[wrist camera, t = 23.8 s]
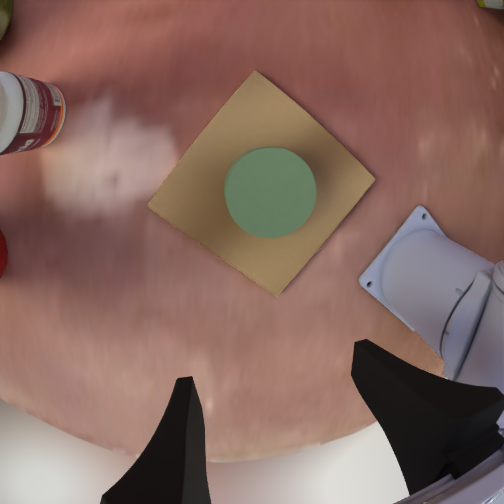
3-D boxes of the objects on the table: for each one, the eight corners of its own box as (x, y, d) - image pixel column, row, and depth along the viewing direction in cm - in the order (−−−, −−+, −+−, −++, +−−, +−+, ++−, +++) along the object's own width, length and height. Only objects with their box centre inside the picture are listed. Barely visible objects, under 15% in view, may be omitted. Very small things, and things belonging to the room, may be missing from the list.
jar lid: (324, 186, 20) (334, 190, 19) (270, 246, 21) (276, 256, 20) (263, 128, 18) (268, 128, 17) (206, 194, 19) (205, 199, 18)
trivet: (372, 178, 21) (376, 179, 21) (275, 293, 23) (276, 297, 23) (253, 71, 18) (255, 69, 17) (148, 204, 20) (146, 206, 19)
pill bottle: (13, 151, 17) (-64, 166, 9) (18, 87, 15) (-57, 77, 7) (65, 148, 18) (-8, 160, 10) (72, 80, 16) (3, 57, 8)
